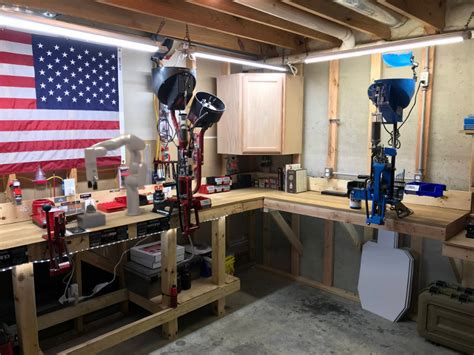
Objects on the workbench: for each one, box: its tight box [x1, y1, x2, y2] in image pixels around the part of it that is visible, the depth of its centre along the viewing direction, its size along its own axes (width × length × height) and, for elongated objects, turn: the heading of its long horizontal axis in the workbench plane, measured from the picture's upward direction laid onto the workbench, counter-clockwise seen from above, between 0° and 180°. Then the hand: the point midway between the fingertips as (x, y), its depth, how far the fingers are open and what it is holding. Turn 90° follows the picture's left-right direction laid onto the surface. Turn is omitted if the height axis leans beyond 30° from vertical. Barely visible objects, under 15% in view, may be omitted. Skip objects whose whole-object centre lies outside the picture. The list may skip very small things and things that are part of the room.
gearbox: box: [76, 210, 107, 230], centre depth 273 cm, size 16×12×10 cm
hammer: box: [65, 204, 97, 224], centre depth 285 cm, size 5×11×30 cm
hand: (92, 189), depth 271 cm, fingers open, 9 cm apart
